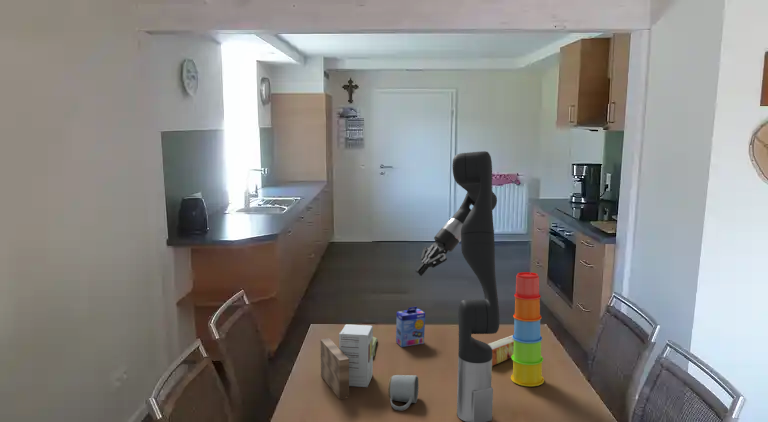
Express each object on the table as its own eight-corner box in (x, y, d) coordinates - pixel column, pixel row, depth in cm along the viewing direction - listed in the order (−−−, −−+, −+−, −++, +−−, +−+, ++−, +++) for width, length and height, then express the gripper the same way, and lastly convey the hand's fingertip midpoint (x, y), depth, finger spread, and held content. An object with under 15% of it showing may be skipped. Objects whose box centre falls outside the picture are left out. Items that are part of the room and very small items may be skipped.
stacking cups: (514, 387, 174) (519, 278, 169) (507, 373, 184) (511, 270, 179) (547, 387, 174) (553, 279, 169) (539, 373, 184) (543, 270, 179)
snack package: (513, 348, 206) (514, 330, 205) (529, 353, 201) (530, 335, 200) (476, 363, 193) (476, 344, 192) (491, 369, 188) (492, 350, 187)
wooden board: (349, 397, 167) (348, 358, 165) (339, 399, 166) (339, 360, 164) (329, 373, 183) (329, 338, 182) (320, 374, 182) (320, 339, 180)
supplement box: (367, 387, 173) (368, 335, 171) (338, 385, 175) (338, 333, 172) (373, 374, 183) (373, 324, 180) (345, 372, 184) (345, 323, 182)
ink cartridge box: (401, 347, 205) (402, 309, 203) (395, 342, 210) (395, 305, 208) (425, 343, 209) (426, 306, 207) (418, 338, 214) (418, 302, 212)
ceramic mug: (392, 392, 170) (392, 368, 169) (418, 395, 168) (419, 371, 167) (384, 410, 160) (384, 385, 159) (413, 413, 158) (413, 387, 157)
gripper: (434, 224, 193) (402, 262, 190) (454, 230, 181) (420, 271, 178) (447, 238, 196) (415, 276, 192) (468, 245, 184) (434, 285, 181)
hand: (418, 273), depth 185 cm, fingers closed
